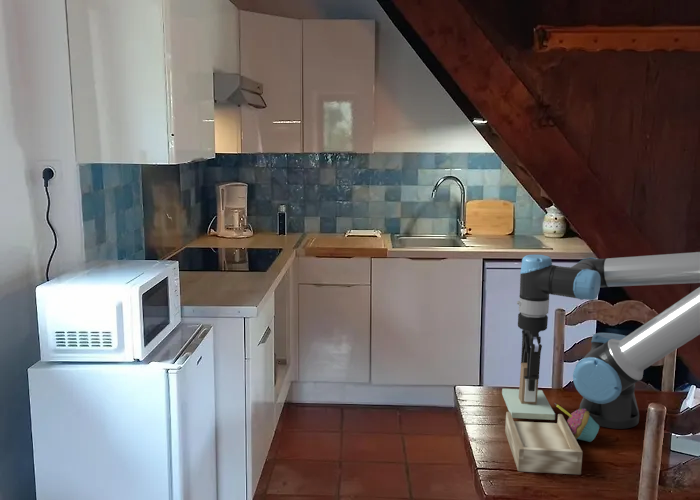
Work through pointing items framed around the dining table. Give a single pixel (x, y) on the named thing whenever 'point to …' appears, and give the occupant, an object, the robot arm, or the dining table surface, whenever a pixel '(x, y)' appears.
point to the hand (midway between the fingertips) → (528, 397)
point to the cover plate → (528, 408)
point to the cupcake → (581, 424)
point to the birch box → (543, 446)
